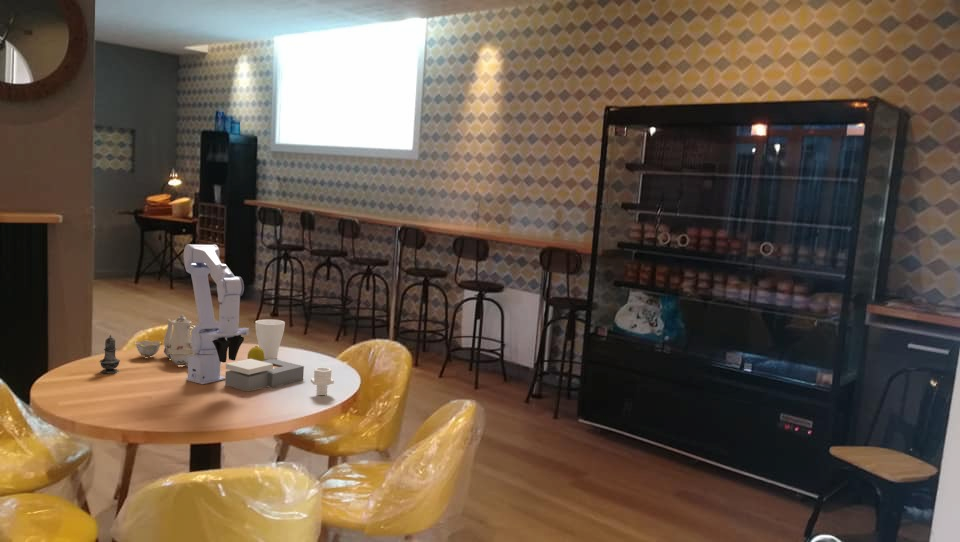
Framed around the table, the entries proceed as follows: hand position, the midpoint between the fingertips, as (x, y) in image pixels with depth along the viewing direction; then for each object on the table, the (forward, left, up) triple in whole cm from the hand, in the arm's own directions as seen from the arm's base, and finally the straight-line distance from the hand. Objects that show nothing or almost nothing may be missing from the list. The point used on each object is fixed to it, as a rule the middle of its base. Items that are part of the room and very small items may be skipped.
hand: (227, 360), depth 214 cm
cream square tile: (+9, 0, -4) cm, 10 cm away
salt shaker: (-10, +42, -10) cm, 44 cm away
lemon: (+25, +14, -10) cm, 30 cm away
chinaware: (+14, +42, -10) cm, 45 cm away
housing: (+15, 0, -9) cm, 18 cm away
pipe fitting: (+17, -23, -10) cm, 30 cm away
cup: (+39, +22, -10) cm, 46 cm away
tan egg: (+19, 0, -10) cm, 21 cm away
